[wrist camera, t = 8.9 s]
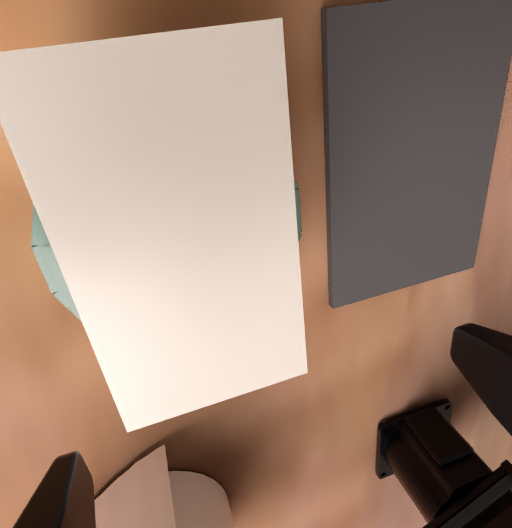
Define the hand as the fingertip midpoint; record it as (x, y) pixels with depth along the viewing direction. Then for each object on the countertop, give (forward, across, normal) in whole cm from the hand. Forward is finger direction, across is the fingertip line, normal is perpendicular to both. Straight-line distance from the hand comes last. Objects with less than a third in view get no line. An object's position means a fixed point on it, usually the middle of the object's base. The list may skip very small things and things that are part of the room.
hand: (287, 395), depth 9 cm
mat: (+12, -12, 0) cm, 17 cm away
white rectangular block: (+7, +1, -2) cm, 7 cm away
